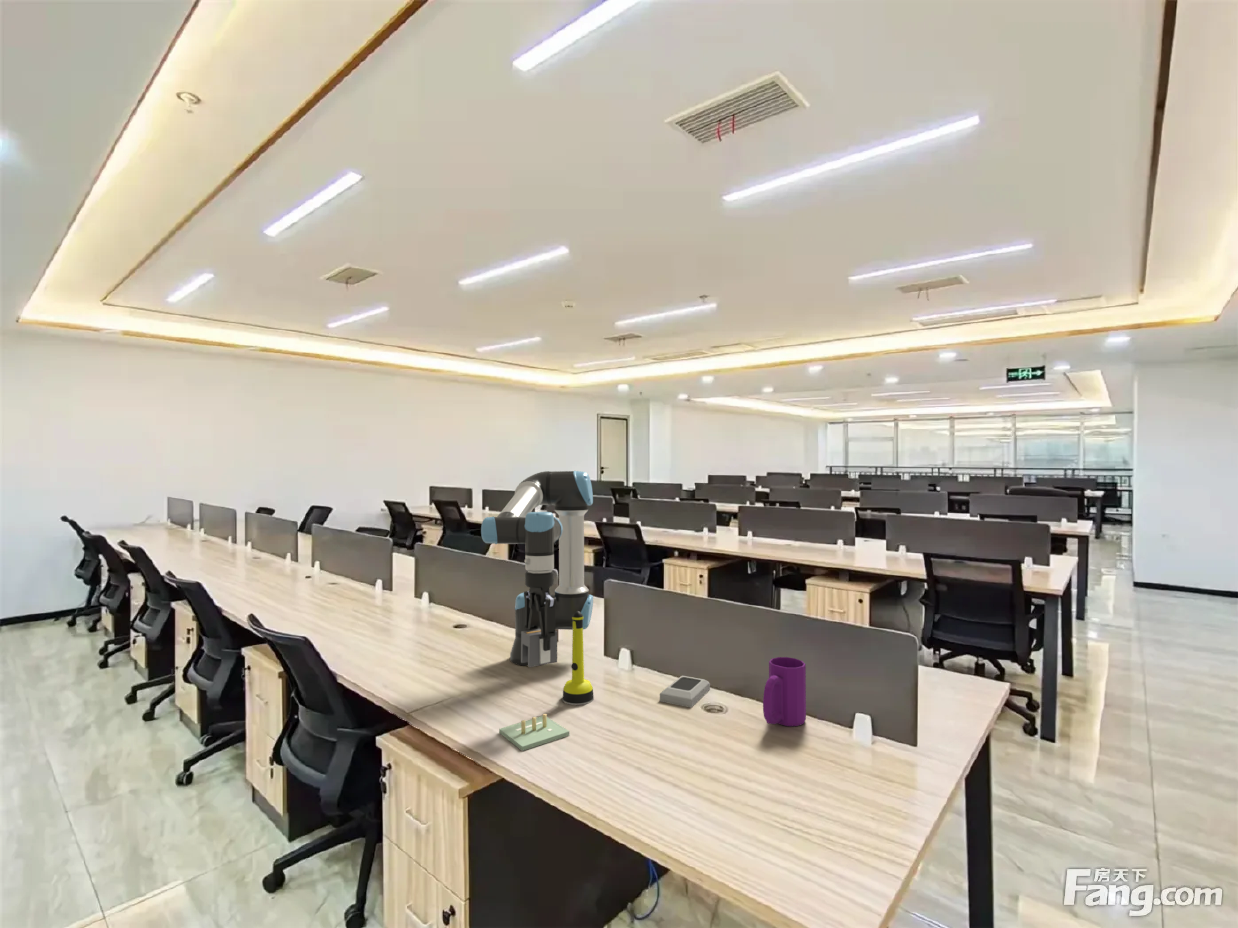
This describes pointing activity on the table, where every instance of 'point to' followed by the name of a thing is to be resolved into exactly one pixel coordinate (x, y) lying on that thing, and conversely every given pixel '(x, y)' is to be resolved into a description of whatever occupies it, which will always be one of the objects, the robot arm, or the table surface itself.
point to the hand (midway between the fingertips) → (539, 659)
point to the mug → (785, 692)
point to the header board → (533, 732)
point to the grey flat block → (685, 691)
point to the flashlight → (577, 669)
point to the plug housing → (536, 648)
